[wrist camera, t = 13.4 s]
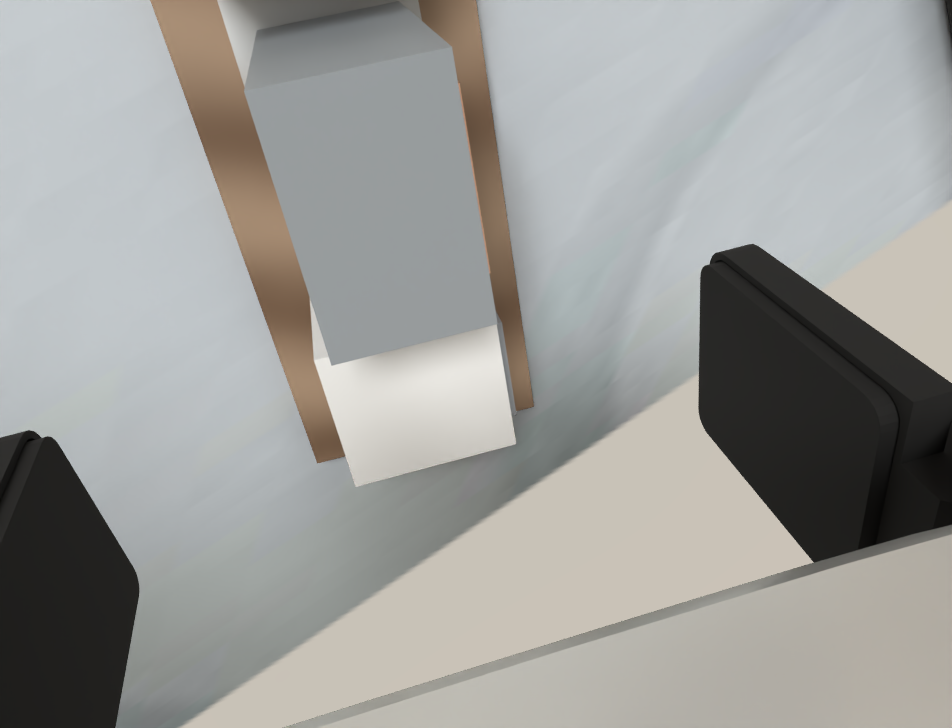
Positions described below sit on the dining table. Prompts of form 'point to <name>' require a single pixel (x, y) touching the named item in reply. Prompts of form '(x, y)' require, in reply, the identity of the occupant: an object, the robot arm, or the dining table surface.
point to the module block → (373, 177)
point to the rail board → (253, 193)
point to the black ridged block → (949, 12)
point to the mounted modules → (420, 402)
